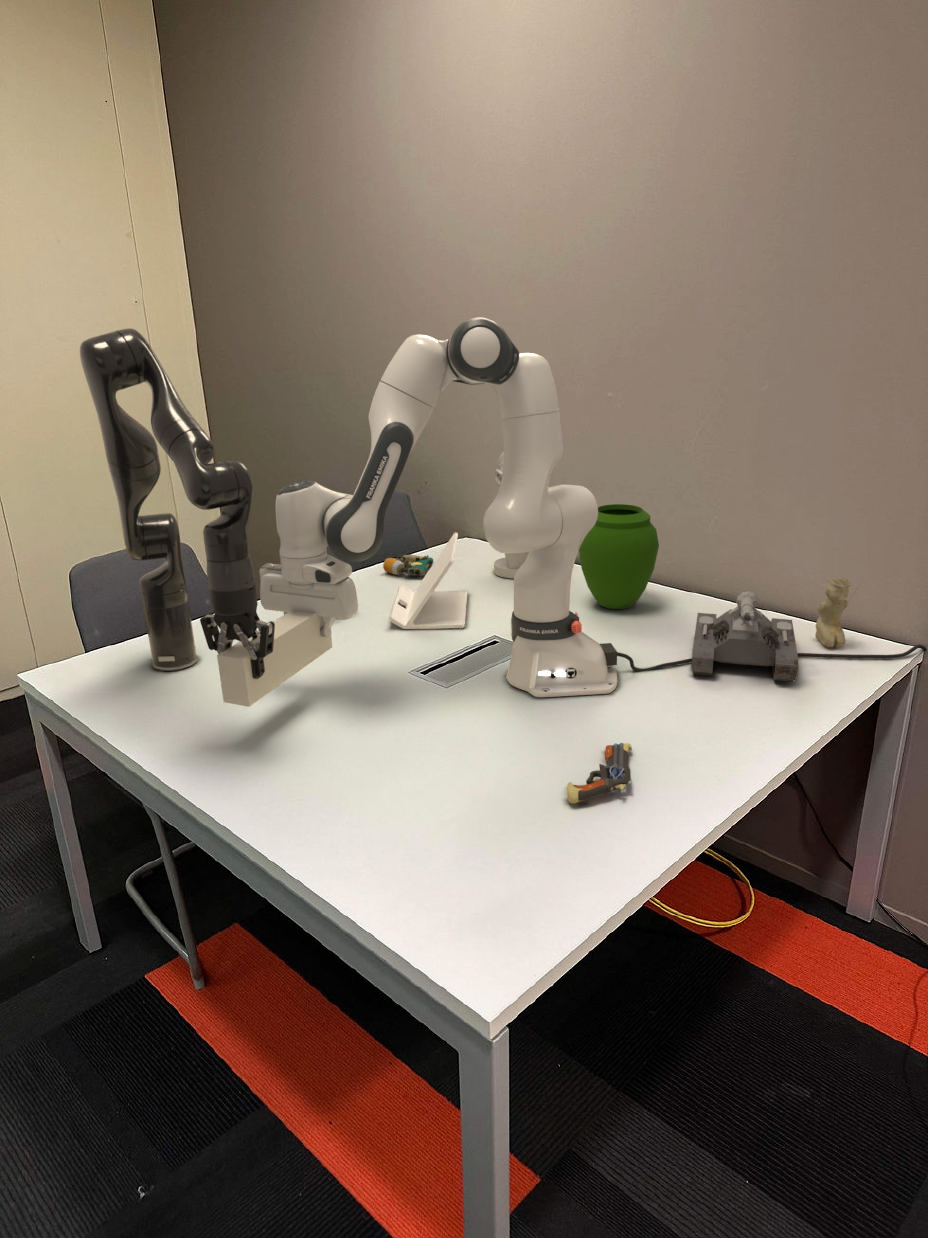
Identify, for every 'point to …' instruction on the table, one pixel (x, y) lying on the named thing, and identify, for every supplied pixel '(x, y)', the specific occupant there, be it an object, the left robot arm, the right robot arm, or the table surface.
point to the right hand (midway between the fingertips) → (311, 634)
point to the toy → (745, 640)
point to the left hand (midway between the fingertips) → (243, 674)
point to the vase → (619, 555)
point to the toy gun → (604, 775)
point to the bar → (273, 658)
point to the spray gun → (407, 564)
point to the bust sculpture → (512, 560)
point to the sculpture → (832, 613)
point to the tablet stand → (431, 599)
